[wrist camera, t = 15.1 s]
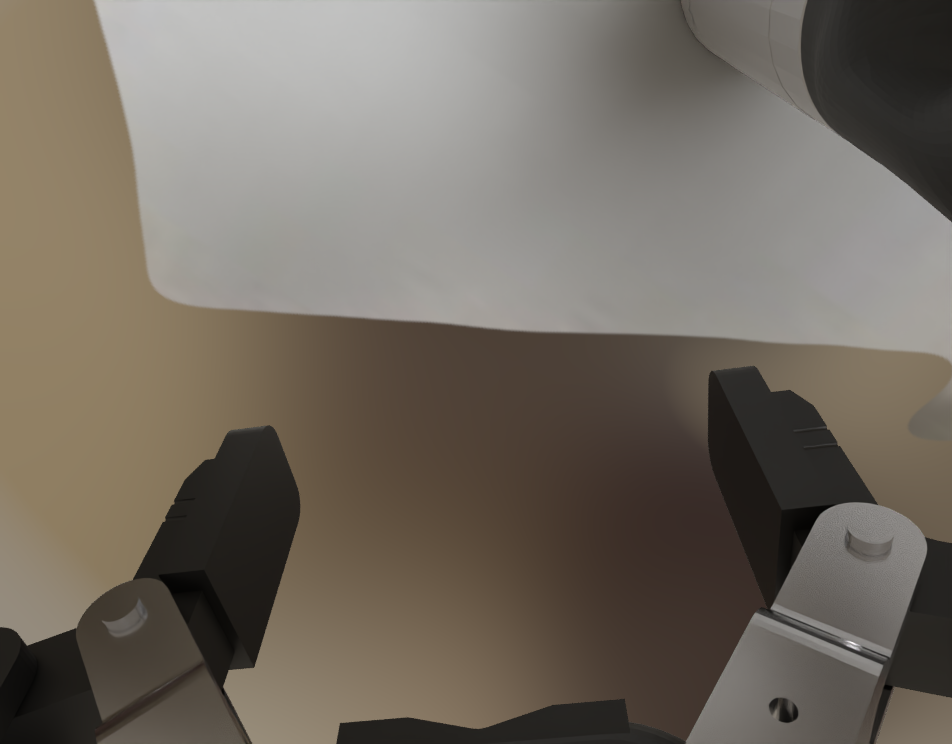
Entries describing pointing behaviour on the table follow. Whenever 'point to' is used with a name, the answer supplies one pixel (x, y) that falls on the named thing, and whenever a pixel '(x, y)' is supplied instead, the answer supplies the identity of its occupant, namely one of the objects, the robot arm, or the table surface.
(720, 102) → the table surface
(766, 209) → the table surface
